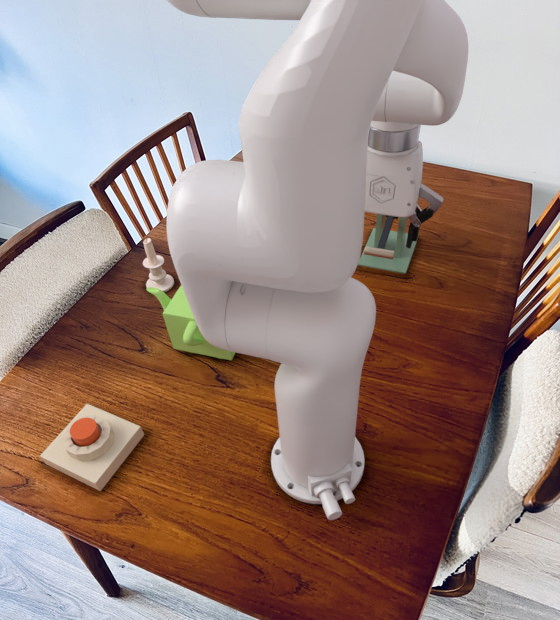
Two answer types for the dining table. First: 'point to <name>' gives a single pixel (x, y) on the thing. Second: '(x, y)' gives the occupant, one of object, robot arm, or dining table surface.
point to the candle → (156, 269)
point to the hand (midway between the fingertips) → (380, 238)
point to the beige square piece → (94, 448)
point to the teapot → (185, 326)
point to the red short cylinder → (85, 431)
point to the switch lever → (382, 242)
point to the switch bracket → (389, 247)
